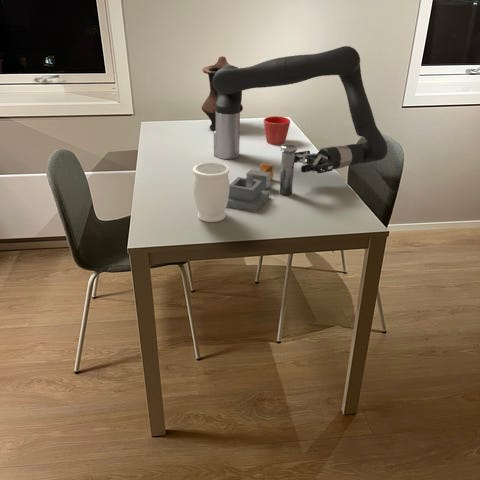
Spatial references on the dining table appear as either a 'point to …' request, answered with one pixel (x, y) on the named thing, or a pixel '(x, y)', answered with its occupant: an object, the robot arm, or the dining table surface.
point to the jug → (213, 92)
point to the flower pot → (276, 129)
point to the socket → (246, 195)
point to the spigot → (287, 169)
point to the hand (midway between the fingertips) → (294, 164)
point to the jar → (211, 190)
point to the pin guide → (262, 177)
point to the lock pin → (266, 170)
